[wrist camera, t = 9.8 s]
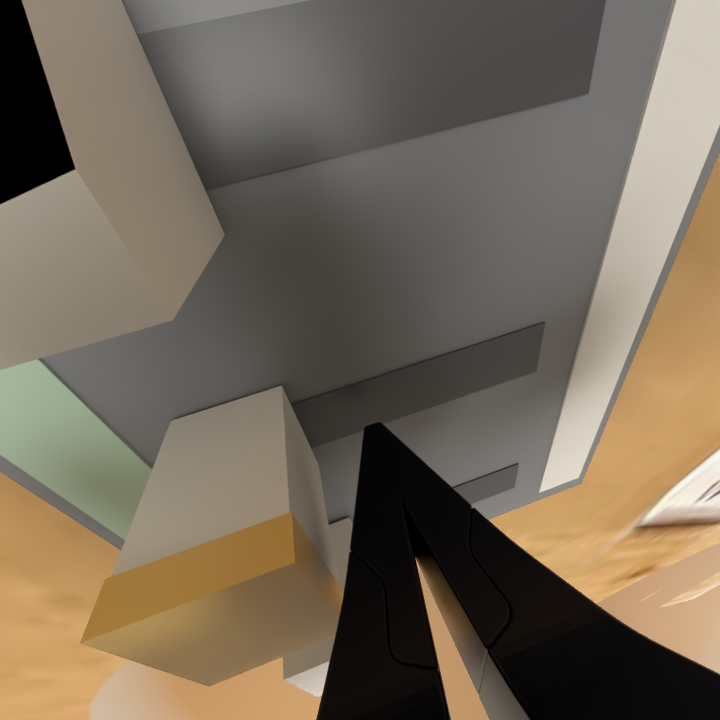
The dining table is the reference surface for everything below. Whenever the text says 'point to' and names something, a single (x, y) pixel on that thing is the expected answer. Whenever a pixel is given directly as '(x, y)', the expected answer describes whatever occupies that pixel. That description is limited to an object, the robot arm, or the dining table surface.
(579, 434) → the panel
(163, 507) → the block
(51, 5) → the block
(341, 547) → the block
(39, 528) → the dining table surface
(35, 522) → the dining table surface
